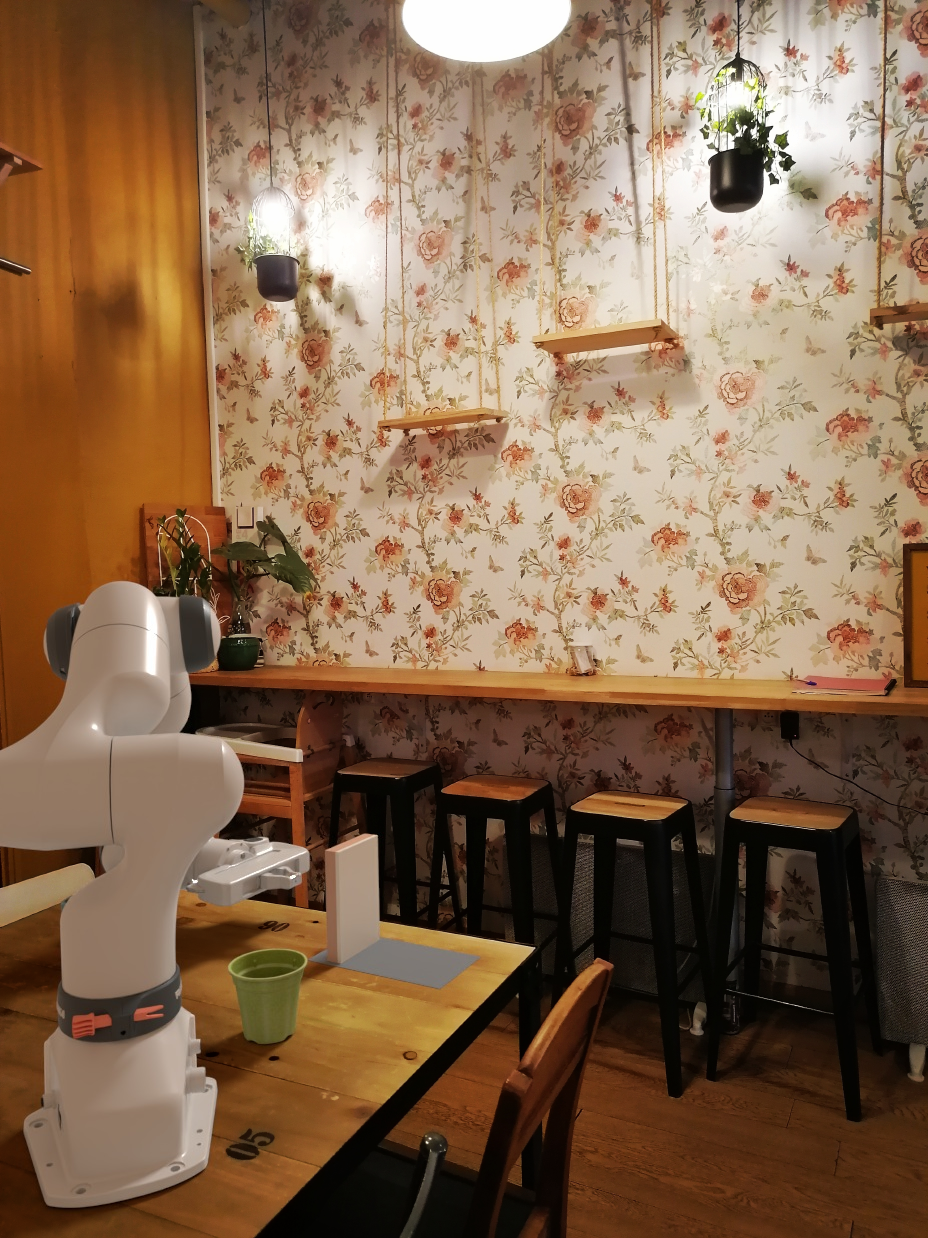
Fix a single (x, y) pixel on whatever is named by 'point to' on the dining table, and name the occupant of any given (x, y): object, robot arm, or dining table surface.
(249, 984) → the plant pot
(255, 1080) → the dining table surface
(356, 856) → the tile
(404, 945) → the mat
